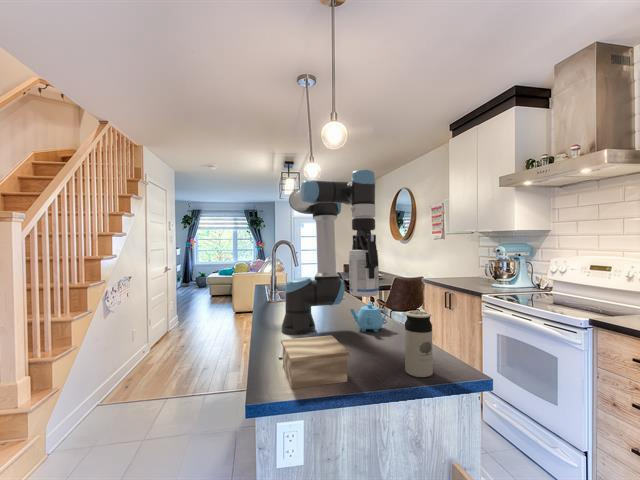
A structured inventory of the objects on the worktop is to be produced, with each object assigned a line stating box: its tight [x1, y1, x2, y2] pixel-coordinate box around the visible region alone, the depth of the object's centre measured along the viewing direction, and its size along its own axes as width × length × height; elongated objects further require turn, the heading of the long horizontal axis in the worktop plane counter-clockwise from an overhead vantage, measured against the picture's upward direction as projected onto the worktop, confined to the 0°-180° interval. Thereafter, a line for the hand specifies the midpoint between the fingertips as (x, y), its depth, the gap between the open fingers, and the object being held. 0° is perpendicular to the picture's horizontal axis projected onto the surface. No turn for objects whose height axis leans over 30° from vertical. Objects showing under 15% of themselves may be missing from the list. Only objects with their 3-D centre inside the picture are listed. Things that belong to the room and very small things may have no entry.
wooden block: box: [280, 335, 350, 389], centre depth 97 cm, size 17×17×8 cm
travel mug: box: [404, 310, 434, 378], centre depth 98 cm, size 8×8×18 cm
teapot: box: [349, 300, 388, 333], centre depth 146 cm, size 15×14×11 cm
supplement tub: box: [348, 249, 380, 298], centre depth 105 cm, size 10×10×15 cm
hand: (363, 286), depth 105 cm, fingers closed on supplement tub, 10 cm apart
